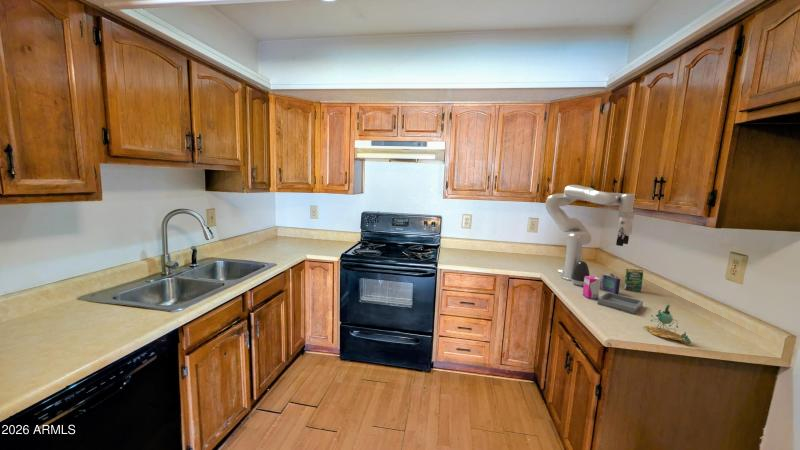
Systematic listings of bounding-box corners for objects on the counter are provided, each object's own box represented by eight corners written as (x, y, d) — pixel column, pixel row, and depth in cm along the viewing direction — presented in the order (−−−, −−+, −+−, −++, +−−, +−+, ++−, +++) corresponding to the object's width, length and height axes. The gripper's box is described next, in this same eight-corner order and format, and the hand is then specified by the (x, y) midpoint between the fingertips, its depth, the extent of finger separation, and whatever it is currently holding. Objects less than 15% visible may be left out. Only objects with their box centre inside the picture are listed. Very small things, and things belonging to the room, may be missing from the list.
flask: (599, 289, 186) (602, 270, 185) (602, 288, 188) (605, 270, 186) (616, 294, 177) (619, 275, 176) (620, 294, 179) (622, 275, 177)
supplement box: (592, 295, 175) (594, 276, 174) (598, 299, 169) (601, 279, 168) (581, 294, 176) (584, 275, 174) (587, 298, 170) (590, 278, 168)
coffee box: (624, 290, 186) (627, 269, 184) (623, 288, 189) (626, 267, 187) (641, 292, 183) (644, 271, 181) (639, 291, 185) (642, 269, 184)
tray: (597, 304, 163) (598, 298, 162) (607, 297, 173) (607, 292, 173) (634, 314, 151) (635, 308, 150) (642, 306, 161) (643, 301, 161)
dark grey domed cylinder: (586, 282, 197) (588, 259, 195) (591, 288, 188) (594, 264, 185) (568, 281, 200) (571, 258, 198) (572, 286, 190) (575, 262, 188)
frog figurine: (679, 349, 120) (681, 311, 120) (635, 331, 138) (636, 298, 137) (698, 346, 123) (699, 309, 122) (652, 329, 140) (652, 297, 139)
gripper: (629, 217, 168) (625, 247, 171) (638, 215, 179) (634, 244, 182) (613, 215, 174) (609, 245, 176) (623, 214, 185) (619, 241, 188)
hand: (622, 244), depth 179 cm, fingers open, 9 cm apart
